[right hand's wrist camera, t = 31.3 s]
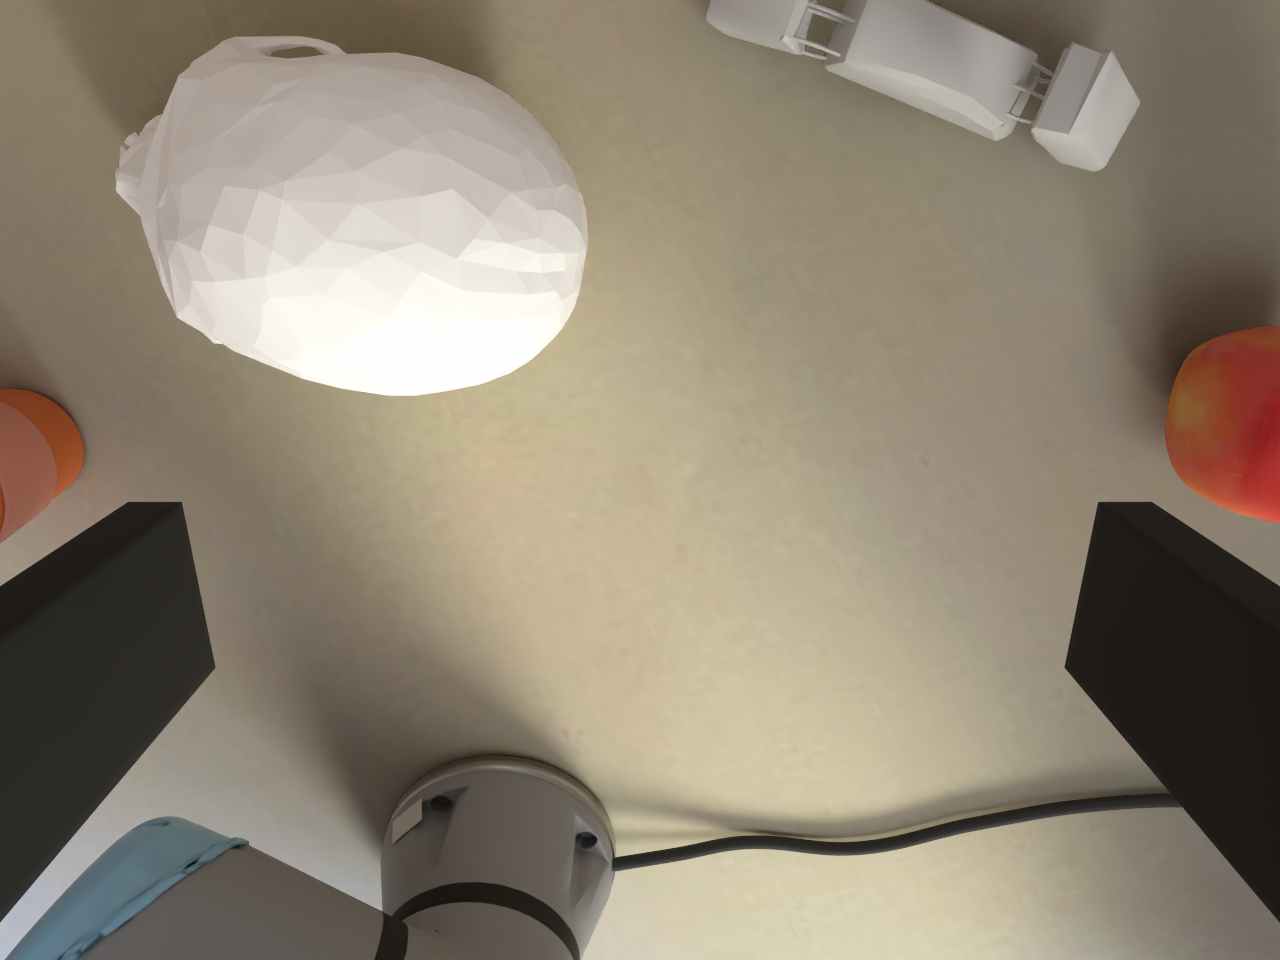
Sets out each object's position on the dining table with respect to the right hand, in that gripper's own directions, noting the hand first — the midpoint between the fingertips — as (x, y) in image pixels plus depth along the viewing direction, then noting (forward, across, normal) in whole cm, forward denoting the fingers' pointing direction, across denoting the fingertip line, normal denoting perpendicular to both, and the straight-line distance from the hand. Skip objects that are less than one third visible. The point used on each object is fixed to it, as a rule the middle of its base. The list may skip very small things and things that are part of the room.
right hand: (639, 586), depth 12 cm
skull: (+34, +13, -4) cm, 36 cm away
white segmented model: (+34, -13, -10) cm, 38 cm away
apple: (+34, -31, +6) cm, 46 cm away
